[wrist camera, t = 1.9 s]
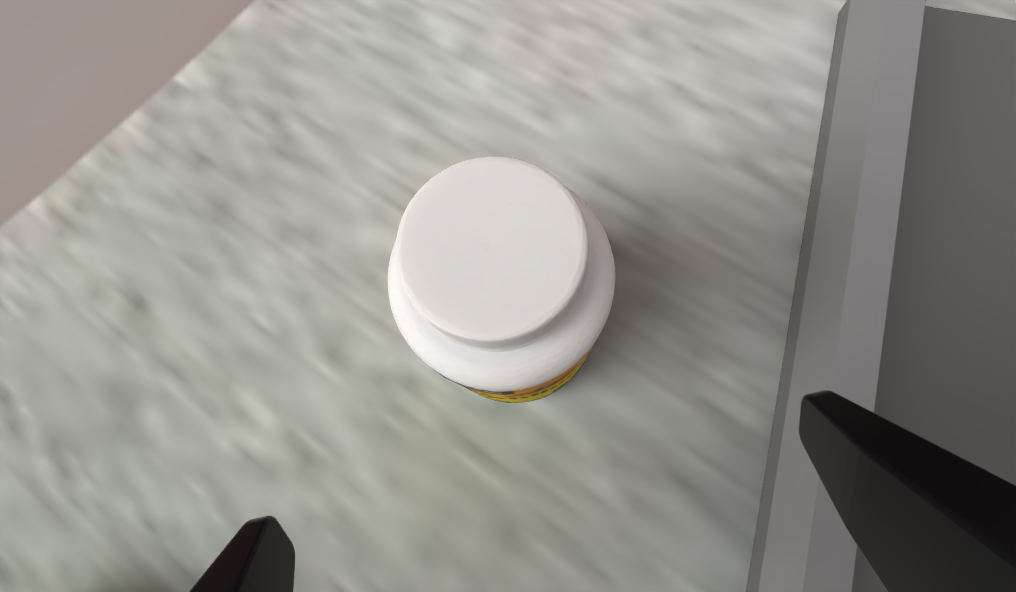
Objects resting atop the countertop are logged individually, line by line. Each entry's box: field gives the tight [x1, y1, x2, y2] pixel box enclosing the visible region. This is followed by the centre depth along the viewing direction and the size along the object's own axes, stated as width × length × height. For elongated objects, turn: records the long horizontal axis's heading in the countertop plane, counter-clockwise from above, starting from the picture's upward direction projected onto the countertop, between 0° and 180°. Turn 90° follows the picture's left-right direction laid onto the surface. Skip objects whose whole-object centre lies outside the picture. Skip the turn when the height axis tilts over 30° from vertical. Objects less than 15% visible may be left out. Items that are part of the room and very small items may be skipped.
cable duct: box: [746, 0, 1016, 592], centre depth 18 cm, size 24×11×4 cm, turn 165°
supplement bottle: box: [388, 156, 615, 403], centre depth 17 cm, size 6×6×10 cm
